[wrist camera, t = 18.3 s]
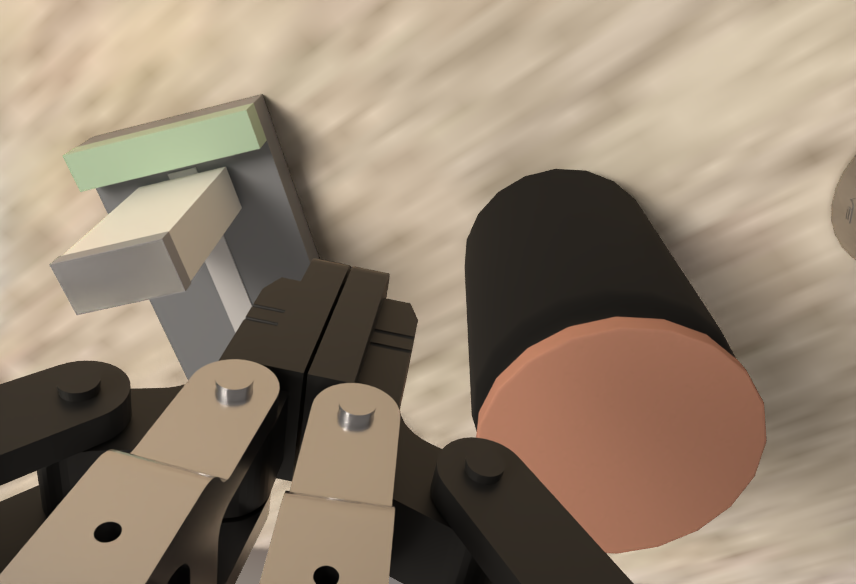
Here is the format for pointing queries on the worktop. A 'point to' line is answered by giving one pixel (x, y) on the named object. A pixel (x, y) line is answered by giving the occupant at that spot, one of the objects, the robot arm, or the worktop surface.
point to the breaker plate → (245, 237)
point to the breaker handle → (149, 242)
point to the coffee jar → (604, 363)
